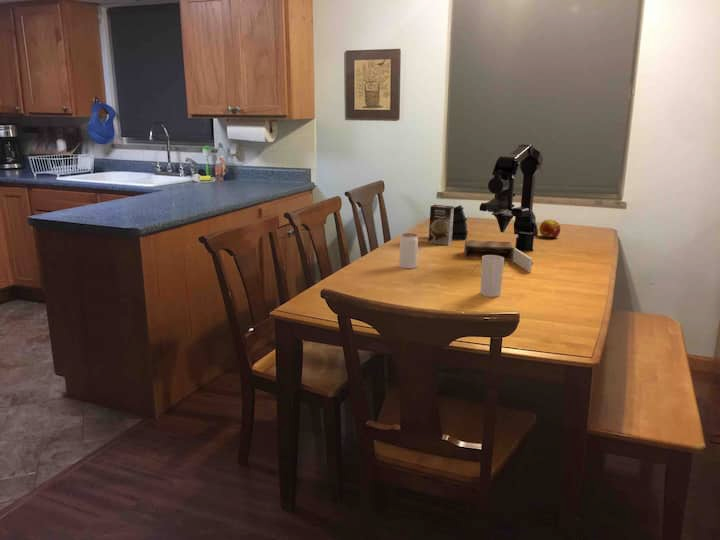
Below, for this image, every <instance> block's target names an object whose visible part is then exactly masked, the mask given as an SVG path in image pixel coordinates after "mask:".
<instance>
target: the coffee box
mask: <svg viewBox="0 0 720 540" xmlns="http://www.w3.org/2000/svg"><path fill="white" fill-rule="evenodd" d="M454 208H455V206H453V205H441V204H433V205H430V211H429V213H430V214H429V227H428V228H429V229H428V231H429V232H428V244H432V243H433V244H434V245H443V246H450V244H452V243H453V240H452V229H453V215H454Z"/></svg>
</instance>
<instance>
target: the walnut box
mask: <svg viewBox="0 0 720 540" xmlns="http://www.w3.org/2000/svg"><path fill="white" fill-rule="evenodd" d="M513 248H514V247H513V245H512V243H511V241H497V240H496V241H495V240H494V241H493V240H476V239H475V240H473V239H466V240H464V258H465V259H476V260H477V259H478V260H479V259H481V260H482V256H485V255H497V256H501V257H504V261H512V252H513Z"/></svg>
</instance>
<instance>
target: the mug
mask: <svg viewBox="0 0 720 540" xmlns="http://www.w3.org/2000/svg"><path fill="white" fill-rule="evenodd" d="M504 264H505V260H504V257H501V256H497V255H485V256H482V259H481V274H480V291H479V292H480V294H481V296H484V297H489V298H496V297H500V296H501V294H502V293H501V292H502V284H503V274H504Z"/></svg>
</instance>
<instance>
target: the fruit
mask: <svg viewBox="0 0 720 540" xmlns="http://www.w3.org/2000/svg"><path fill="white" fill-rule="evenodd" d="M538 231H539V233H540V235H542V236H543V237H545V238H549V239H555V238H557V237H558V236H560V233H561V225H560V223H559V222H557V221H556V220H553V219H545V220H543V221H542V222H541V223H540V225H539V228H538Z"/></svg>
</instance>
